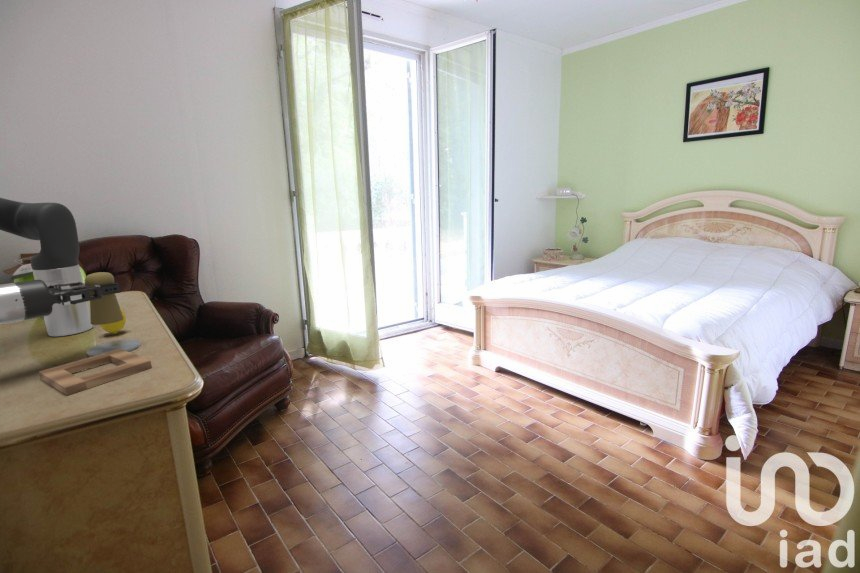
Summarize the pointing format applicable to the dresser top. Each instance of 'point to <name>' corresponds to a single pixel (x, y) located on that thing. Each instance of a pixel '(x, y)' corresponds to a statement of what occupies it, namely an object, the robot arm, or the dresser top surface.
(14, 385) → the dresser top surface
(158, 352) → the dresser top surface
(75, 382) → the walnut board
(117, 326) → the lemon
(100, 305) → the cork
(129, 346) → the slate coaster
